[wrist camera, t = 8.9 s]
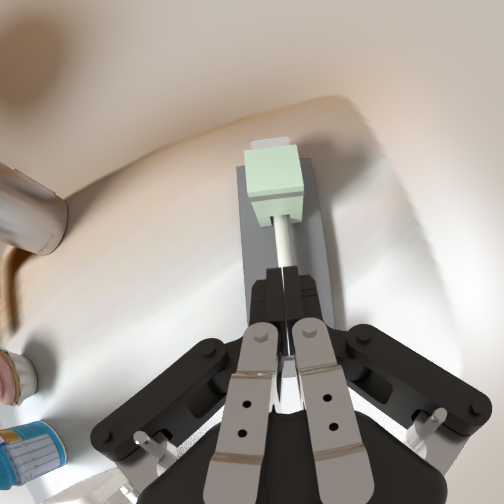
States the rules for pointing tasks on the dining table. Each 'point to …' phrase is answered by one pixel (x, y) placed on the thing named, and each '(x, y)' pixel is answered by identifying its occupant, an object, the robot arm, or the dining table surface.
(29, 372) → the cupcake
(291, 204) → the notched mint block
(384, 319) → the dining table surface
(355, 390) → the robot arm
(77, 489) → the white plastic stand
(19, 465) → the beverage bottle
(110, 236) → the dining table surface
